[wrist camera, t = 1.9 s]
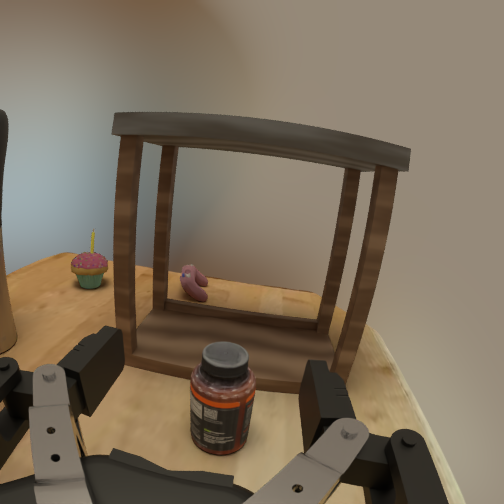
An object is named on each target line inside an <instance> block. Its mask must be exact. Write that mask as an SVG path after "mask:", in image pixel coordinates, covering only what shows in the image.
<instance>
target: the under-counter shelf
mask: <svg viewBox="0 0 504 504" xmlns="http://www.w3.org/2000/svg"><path fill="white" fill-rule="evenodd" d="M112 135H117V136H121V141H120V149H119V158H118V168H117V180H116V193H115V210H114V245H113V250H114V254H113V258H114V259H113V264H114V298H115V316H116V328H118V329H121V330H122V333H123V343H124V354H125V365H129V366H133V367H137V368H141V369H145V370H149V371H153V372H157V373H162V374H166V375H171V376H175V377H180V378H185V379H190V380H191V374H192V372H193V370H194V368H195V367H196V366H197V365H198V364H199V363H201V360H202V352H203V349H204V348H205V347H206V346H207V345H209V344H211V343H215V342H231V343H235V344H238V345H240V346H242V347H243V348H244V349H245V350H246V351H247V352H248V354H249V361H248V367H249V368H250V369H251V370H252V372H253V373H254V375H255V378H256V389H255V390H263V391H272V392H282V393H294V394H299V390H300V386H301V382H302V378H303V375H304V371H305V367H306V363H307V361H308V359H311V360H325V361H326V362H327V365H328V369H329V372H334V373H337V374H338V375H339V376H340V377H341V378H342V379H343V380H344V383H345V384H346V381H347V378H348V376H349V373H350V370H351V367H352V364H353V361H354V358H355V356H356V353H357V349H358V346H359V343H360V340H361V337H362V334H363V331H364V327H365V324H366V321H367V317H368V313H369V310H370V307H371V303H372V299H373V295H374V292H375V288H376V284H377V280H378V276H379V271H380V268H381V263H382V259H383V254H384V250H385V244H386V240H387V235H388V230H389V225H390V219H391V214H392V209H393V203H394V196H395V190H396V183H397V176H398V171H408V170H409V161H410V152H411V149H410V148H406V147H403V146H399V145H395V144H391V143H388V142H384V141H379V140H376V139H372V138H367V137H363V136H359V135H354V134H349V133H345V132H341V131H336V130H330V129H325V128H320V127H314V126H308V125H302V124H296V123H290V122H283V121H276V120H268V119H259V118H251V117H241V116H230V115H218V114H202V113H178V112H122V113H115V114H114V121H113V127H112ZM143 142H148V143H152V144H156V145H160V146H162V155H161V164H160V173H159V183H158V194H157V206H156V220H155V237H154V261H153V309H152V310H151V312H150V313H149V314H148V315H147V316H146V318H145V319H144V320H143V321H142V323H141V324H140V325H139V326H138V328H137V329H136V309H135V245H136V220H137V203H138V190H139V178H140V168H141V159H142V150H143ZM179 147H188V148H202V149H214V150H224V151H233V152H243V153H251V154H260V155H268V156H275V157H282V158H289V159H296V160H302V161H308V162H314V163H320V164H326V165H331V166H336V167H342V168H345V173H344V179H343V186H342V193H341V199H340V205H339V212H338V218H337V224H336V229H335V235H334V241H333V246H332V251H331V257H330V261H329V266H328V271H327V276H326V281H325V286H324V291H323V295H322V300H321V304H320V308H319V313H318V317H317V320H316V319H307V318H298V317H289V316H281V315H273V314H265V313H258V312H250V311H243V310H236V309H229V308H222V307H216V306H209V305H203V304H197V303H191V302H185V301H179V300H173V299H168V298H167V291H168V265H169V246H170V230H171V217H172V204H173V193H174V182H175V174H176V165H177V156H178V148H179ZM370 171H375V173H374V180H373V187H372V194H371V200H370V206H369V212H368V218H367V223H366V229H365V235H364V240H363V244H362V249H361V254H360V259H359V263H358V268H357V273H356V277H355V282H354V286H353V290H352V294H351V298H350V302H349V306H348V310H347V313H346V317H345V321H344V325H343V328H342V332H341V335H340V339H339V342H338V346H337V349H336V352H335V353H334V350H333V347H332V344H331V341H330V338H329V335H328V332H329V328H330V324H331V320H332V316H333V312H334V308H335V304H336V300H337V296H338V291H339V287H340V283H341V278H342V273H343V269H344V264H345V260H346V255H347V250H348V245H349V239H350V234H351V229H352V223H353V217H354V211H355V206H356V199H357V193H358V186H359V179H360V172H370Z"/></svg>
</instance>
